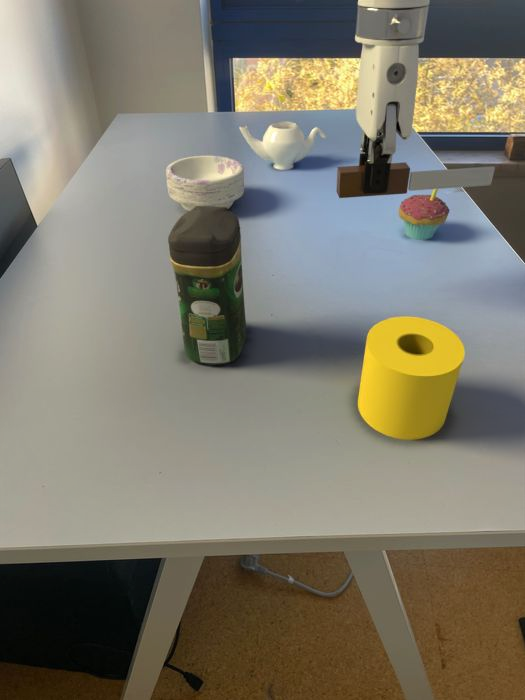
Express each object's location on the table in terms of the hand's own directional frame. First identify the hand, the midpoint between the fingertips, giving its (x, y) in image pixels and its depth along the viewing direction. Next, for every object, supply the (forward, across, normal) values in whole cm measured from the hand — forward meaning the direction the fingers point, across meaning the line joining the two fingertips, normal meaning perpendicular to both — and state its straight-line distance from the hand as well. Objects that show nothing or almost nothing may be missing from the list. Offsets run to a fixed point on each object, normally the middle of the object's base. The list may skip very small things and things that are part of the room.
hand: (371, 186), depth 68 cm
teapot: (+17, +56, +7) cm, 59 cm away
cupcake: (+17, +19, -15) cm, 29 cm away
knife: (+1, 0, -5) cm, 5 cm away
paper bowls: (+17, +35, +24) cm, 46 cm away
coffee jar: (+17, -11, +22) cm, 30 cm away
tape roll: (+17, -24, 0) cm, 30 cm away
